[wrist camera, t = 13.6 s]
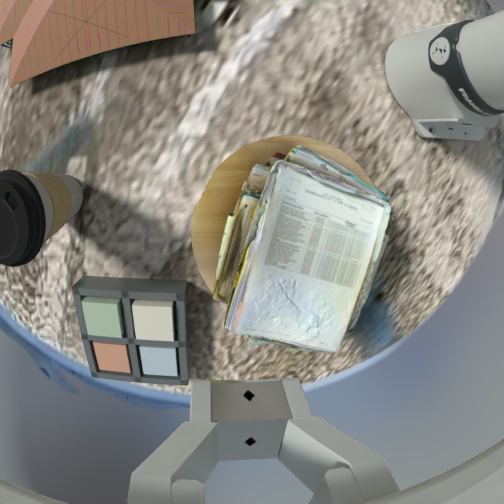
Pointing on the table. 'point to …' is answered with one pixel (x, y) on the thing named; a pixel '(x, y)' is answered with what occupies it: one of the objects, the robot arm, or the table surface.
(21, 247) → the coffee cup
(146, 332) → the key cream
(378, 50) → the table surface
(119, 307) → the key sage
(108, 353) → the key terracotta
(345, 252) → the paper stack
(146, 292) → the keypad
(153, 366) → the key bluegrey
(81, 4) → the house
